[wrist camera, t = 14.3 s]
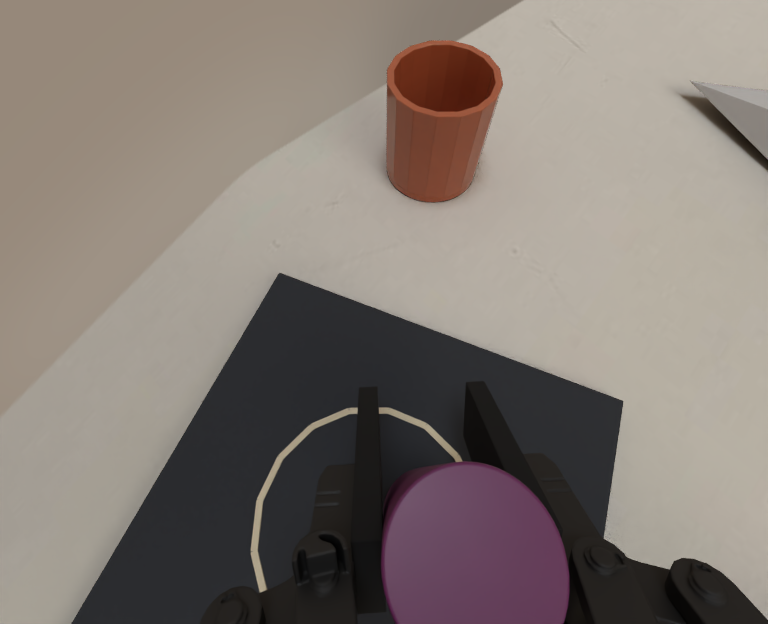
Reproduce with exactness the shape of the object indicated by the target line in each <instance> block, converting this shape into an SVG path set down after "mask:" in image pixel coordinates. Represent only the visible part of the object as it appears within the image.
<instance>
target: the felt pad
mask: <svg viewBox="0 0 768 624" xmlns="http://www.w3.org/2000/svg"><path fill="white" fill-rule="evenodd" d="M474 381H485V383H486V385H487V387H488V389H489V391H490V392H491V394H492V396H493V398H494V400H495V402H496V404H497V406H498V408H499V409H500V411H501V413H502V415H503V417H504V419H505V421H506V423H507V425H508V426H509V428H510V430H511V432H512V434H513V436H514V438H515V440H516V442H517V443H518V445H519V447H520V449H521V451H522V453H523V454H530V453H543V454H545V455H546V456H547V457H548V458H549V459H550V460H552V461H553V462H554V463H555V464H556V465H557V467H558V468H559V470H560V471H561V473H562V475H563V476H564V479H565V480H566V481H567V483H568V484H569V486H570V487H571V490H572V492H574V494H575V496H576V497H577V499H578V500H579V502H580V504H581V505H582V507H583V508H584V510H585V512H586V513H587V515H588V516H589V518H590V520H591V521H592V523H593V524H594V526H595V528H596V529H597V531H598V532H599V534H600V535H601V537H602V538H604V531H605V524H606V517H607V510H608V503H609V496H610V490H611V483H612V476H613V469H614V462H615V455H616V448H617V441H618V435H619V428H620V421H621V414H622V407H623V401H622V400H619V399H616V398H614V397H611V396H608V395H606V394H603V393H600V392H597V391H595V390H592V389H589V388H587V387H584V386H581V385H579V384H576V383H573V382H571V381H568V380H565V379H563V378H560V377H557V376H555V375H552V374H549V373H547V372H544V371H541V370H538V369H536V368H533V367H530V366H528V365H525V364H522V363H520V362H517V361H514V360H512V359H509V358H506V357H504V356H501V355H498V354H496V353H493V352H490V351H488V350H485V349H482V348H479V347H477V346H474V345H471V344H469V343H466V342H463V341H461V340H458V339H455V338H453V337H450V336H447V335H445V334H442V333H439V332H437V331H434V330H431V329H429V328H426V327H423V326H420V325H418V324H415V323H412V322H410V321H407V320H404V319H402V318H399V317H396V316H394V315H391V314H388V313H386V312H383V311H380V310H378V309H375V308H372V307H370V306H367V305H364V304H361V303H359V302H356V301H353V300H351V299H348V298H345V297H343V296H340V295H337V294H335V293H332V292H329V291H327V290H324V289H321V288H319V287H316V286H313V285H311V284H308V283H305V282H302V281H300V280H297V279H294V278H292V277H289V276H286V275H284V274H281V273H279V274H278V276H277V278H276V279H275V281H274V283H273V284H272V286H271V288H270V289H269V291H268V293H267V295H266V296H265V298H264V300H263V301H262V303H261V305H260V306H259V308H258V310H257V311H256V313H255V315H254V316H253V318H252V320H251V322H250V323H249V325H248V327H247V328H246V330H245V332H244V333H243V335H242V337H241V338H240V340H239V342H238V343H237V345H236V347H235V349H234V350H233V352H232V354H231V355H230V357H229V359H228V360H227V362H226V364H225V365H224V367H223V369H222V370H221V372H220V374H219V376H218V377H217V379H216V381H215V382H214V384H213V386H212V387H211V389H210V391H209V392H208V394H207V396H206V397H205V399H204V401H203V403H202V404H201V406H200V408H199V409H198V411H197V413H196V414H195V416H194V418H193V419H192V421H191V423H190V424H189V426H188V428H187V430H186V431H185V433H184V435H183V436H182V438H181V440H180V441H179V443H178V445H177V446H176V448H175V450H174V451H173V453H172V455H171V457H170V458H169V460H168V462H167V463H166V465H165V467H164V468H163V470H162V472H161V473H160V475H159V477H158V478H157V480H156V482H155V484H154V485H153V487H152V489H151V490H150V492H149V494H148V495H147V497H146V499H145V500H144V502H143V504H142V506H141V507H140V509H139V511H138V512H137V514H136V516H135V517H134V519H133V521H132V522H131V524H130V526H129V527H128V529H127V531H126V533H125V534H124V536H123V538H122V539H121V541H120V543H119V544H118V546H117V548H116V549H115V551H114V553H113V554H112V556H111V558H110V560H109V561H108V563H107V565H106V566H105V568H104V570H103V571H102V573H101V575H100V576H99V578H98V580H97V581H96V583H95V585H94V587H93V588H92V590H91V592H90V593H89V595H88V597H87V598H86V600H85V602H84V603H83V605H82V607H81V608H80V610H79V612H78V614H77V615H76V617H75V619H74V620H73V622H72V624H199V623H200V621H201V619H202V616H203V615H204V613H205V611H206V610H207V608H208V606H209V605H210V604H211V603H212V602H213V601H214V600H215V599H216V598H217V597H218V596H219V595H220V594H221V593H223V592H225V591H227V590H229V589H230V588H233V587H238V586H246V587H250V588H253V589H254V590H255V591H256V592H257V593H260V592H263V591H265V590H268V589H270V588H273V587H275V586H277V585H279V584H281V583H283V582H285V581H287V580H288V579H289V578H290V577H292V576H293V575H294V573H293V567H292V562H291V560H292V556H293V551H294V549H295V547H296V546H297V544H298V543H299V541H300V540H301V539H302V538H303V537H305V536H306V535H307V534H308V533H310V528H311V522H312V516H313V510H314V504H315V498H316V492H317V486H318V480H319V477H320V476H321V474H322V473H323V471H324V470H325V468H326V467H327V466H329V465H348V464H355V448H356V430H357V412H358V394H359V387H377V386H378V404H379V423H380V442H381V471H382V500H383V510H384V503H385V499H386V496H387V493H388V491H389V489H390V488H391V486H392V484H393V483H394V482H395V481H396V480H397V479H398V478H399V477H400V476H401V475H403V474H404V473H406V472H408V471H410V470H412V469H416V468H421V467H427V466H433V465H440V464H446V463H452V462H463V461H468V462H472V461H471V458H470V455H469V452H468V449H467V446H466V443H465V440H464V437H463V428H464V408H465V389H466V382H474ZM357 621H358V624H395V622H394V620H393V618H392V615H391V613H390V610H389V608H388V605H387V601H386V612H381V613H365V614H358V612H357Z"/></svg>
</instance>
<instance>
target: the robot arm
mask: <svg viewBox="0 0 768 624" xmlns="http://www.w3.org/2000/svg"><path fill="white" fill-rule="evenodd" d="M463 437H464V440H465V443H466V446H467V449H468V452H469V455H470V458H471V461H472V462H479V463H483V464H488V465H491V466H494V467H497V468H499V469H501V470H503V471H505V472H507V473H509V474H511V475H512V476H514V477H515V478H517V479H518V480H520V481H521V482H522V483H523V484H524V485H526V486H527V487H528V488H529V489H530V490H531V491H532V492H533V493H534V494H535V495H536V496H537V497H538V498H539V500H540V501H541V502H542V504H543V505H544V506H545V508H546V509H547V511H548V512H549V514H550V516H551V517H552V519H553V521H554V523H555V525H556V527H557V529H558V531H559V534H560V537H561V539H562V542H563V545H564V549H565V553H566V557H567V562H568V570H569V601H568V608H567V613H566V617H565V621H564V624H768V620H767V619H766V618H765V617H764V615H763V614H762V613H761V612H760V611H759V610H758V609H757V608H756V607H755V606H754V605H753V604H752V603H751V601H750V600H749V599H748V598H747V597H746V596H745V595H744V594H743V593H742V592H741V591H740V590H739V589H738V587H737V586H736V585H735V584H734V583H733V582H732V581H730V580H729V579H728V578H727V577H726V576H725V575H724V574H723V573H721V572H720V571H718V570H717V569H715V568H713V567H712V566H710V565H708V564H706V563H703V562H701V561H698V560H695V559H687V558H681V559H679V560H676V561H674V562H673V564H672V566H671V568H670V570H669V569H665V568H661V567H657V566H653V565H649V564H645V563H641V562H638V561H635V560H632V559H629V558H627V557H626V556H625V554H624V553H623V552H622V551H621V550H619V549H618V548H617V547H616V546H615V545H614V544H612V543H610V542H608V541H606V540H604V539H603V538H602V537H601V535H600V534H599V532H598V531H597V529H596V528H595V526H594V524H593V523H592V521H591V520H590V518H589V516H588V515H587V513H586V512H585V510H584V508H583V507H582V505H581V504H580V502H579V500H578V499H577V497H576V496H575V494H574V492H572V490H571V487H570V486H569V484H568V483H567V481H566V480H565V479H564V476H563V475H562V473H561V471H560V470H559V468H558V467H557V465H556V464H555V463H554V462H553V461H552V460H550V459H549V458H548V457H547V456H546V455H545V454H543V453H530V454H523V453H522V451H521V449H520V447H519V445H518V443H517V442H516V440H515V438H514V436H513V434H512V432H511V430H510V428H509V426H508V425H507V423H506V421H505V419H504V417H503V415H502V413H501V411H500V409H499V408H498V406H497V404H496V402H495V400H494V398H493V396H492V394H491V392H490V391H489V389H488V387H487V385H486V383H485V381H474V382H466V389H465V408H464V428H463ZM382 528H383V500H382V471H381V442H380V423H379V404H378V386H377V387H359V394H358V412H357V430H356V448H355V464H348V465H329V466H327V467H326V468H325V470H324V471H323V473H322V474H321V476H320V477H319V480H318V486H317V492H316V498H315V504H314V510H313V516H312V522H311V528H310V533H308V534H307V535H306V536H305V537H303V538H302V539H301V540H300V541H299V543H298V544H297V546H296V547H295V549H294V551H293V556H292V560H291V562H292V567H293V573H294V575H293V576H292V577H290V578H289V579H288V580H287V581H285V582H283V583H281V584H279V585H277V586H275V587H273V588H270V589H268V590H265V591H263V592H260V593H257V592H256V591H255V590H254V589H253V588H250V587H246V586H238V587H233V588H230V589H229V590H227V591H225V592H223V593H221V594H220V595H219V596H218V597H217V598H216V599H215V600H214V601H213V602H212V603H211V604H210V605H209V606H208V608H207V610H206V611H205V613H204V615H203V616H202V619H201V621H200V623H199V624H358V621H357V612H358V614H365V613H381V612H386V598H385V594H384V589H383V583H382V577H381V547H382Z"/></svg>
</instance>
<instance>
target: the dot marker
mask: <svg viewBox="0 0 768 624" xmlns="http://www.w3.org/2000/svg"><path fill="white" fill-rule="evenodd" d="M381 577H382V583H383V589H384V594H385V598H386V601H387V605H388V608H389V610H390V613H391V615H392V618H393V620H394V622H395V624H564V621H565V617H566V613H567V608H568V601H569V570H568V562H567V557H566V553H565V549H564V545H563V542H562V539H561V537H560V534H559V531H558V529H557V527H556V525H555V523H554V521H553V519H552V517H551V516H550V514H549V512H548V511H547V509H546V508H545V506H544V505H543V504H542V502H541V501H540V500H539V498H538V497H537V496H536V495H535V494H534V493H533V492H532V491H531V490H530V489H529V488H528V487H527V486H526V485H524V484H523V483H522V482H521V481H520V480H518V479H517V478H515V477H514V476H512V475H511V474H509V473H507V472H505V471H503V470H501V469H499V468H497V467H494V466H491V465H488V464H483V463H479V462H468V461H463V462H452V463H446V464H440V465H433V466H427V467H421V468H416V469H412V470H410V471H408V472H406V473H404V474H403V475H401V476H400V477H399V478H398V479H397V480H396V481H395V482H394V483H393V484H392V486H391V488H390V489H389V491H388V493H387V496H386V499H385V503H384V510H383V528H382V547H381Z"/></svg>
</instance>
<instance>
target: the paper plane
mask: <svg viewBox="0 0 768 624" xmlns="http://www.w3.org/2000/svg"><path fill="white" fill-rule="evenodd" d="M690 82H691V83H692V84H693V85H694V86H695V87H696V88H697V89H698V90H699V91H700V92H701V93H702V94H703V95H704V96H705V97H706V98H707V99H708V100H709V101H710V102H711V103H712V104H713V105H714V106H715V107H716V108H717V109H718V110H719V111H720V112H721V113H722V114H723V115H724V116H725V117H726V118H727V119H728V120H729V121H730V122H731V123H732V124H733V125H734V126H735V127H736V128H737V129H738V130H739V131H740V132H741V133H742V134H743V135H744V136H745V137H746V138H747V139H748V140H749V141H750V142H751V143H752V144H753V145H754V146H755V147H756V148H757V149H758V150H759V151H760V152H761V153H762V154H763V155H764V156H765V157H766V158H767V159H768V90H760V89H752V88H744V87H736V86H728V85H720V84H712V83H704V82H696V81H690Z"/></svg>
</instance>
